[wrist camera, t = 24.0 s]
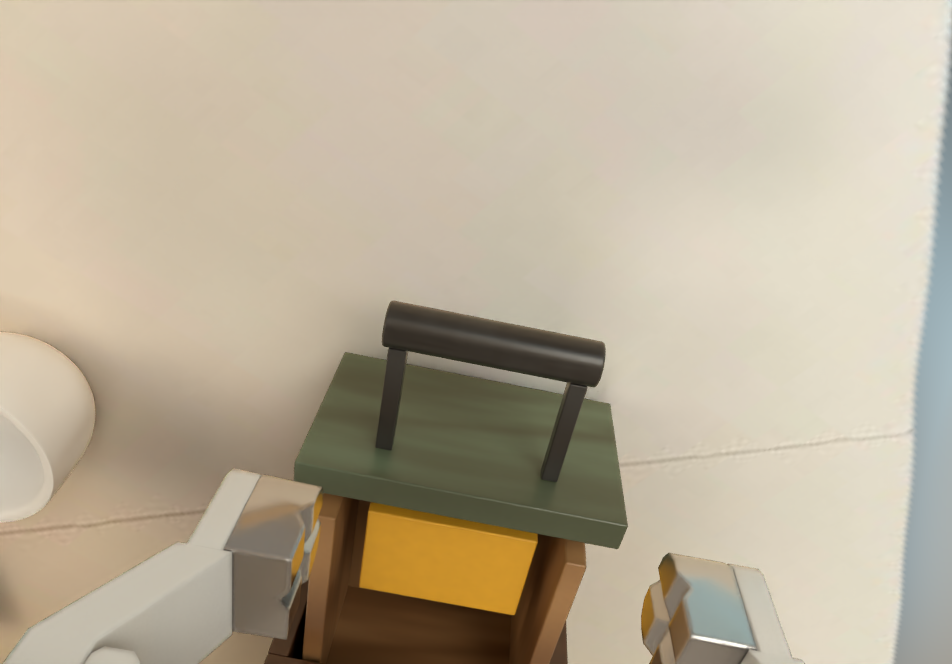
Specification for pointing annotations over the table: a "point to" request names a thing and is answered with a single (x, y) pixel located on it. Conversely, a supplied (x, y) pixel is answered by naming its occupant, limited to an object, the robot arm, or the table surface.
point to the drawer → (458, 484)
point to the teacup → (39, 423)
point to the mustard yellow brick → (445, 559)
